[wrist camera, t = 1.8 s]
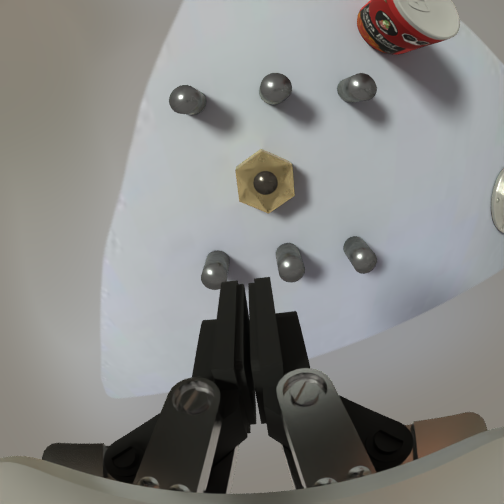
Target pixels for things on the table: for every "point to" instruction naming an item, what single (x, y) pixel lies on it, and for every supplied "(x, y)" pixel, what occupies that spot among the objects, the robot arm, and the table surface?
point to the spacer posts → (287, 254)
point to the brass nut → (265, 181)
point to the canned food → (407, 23)
